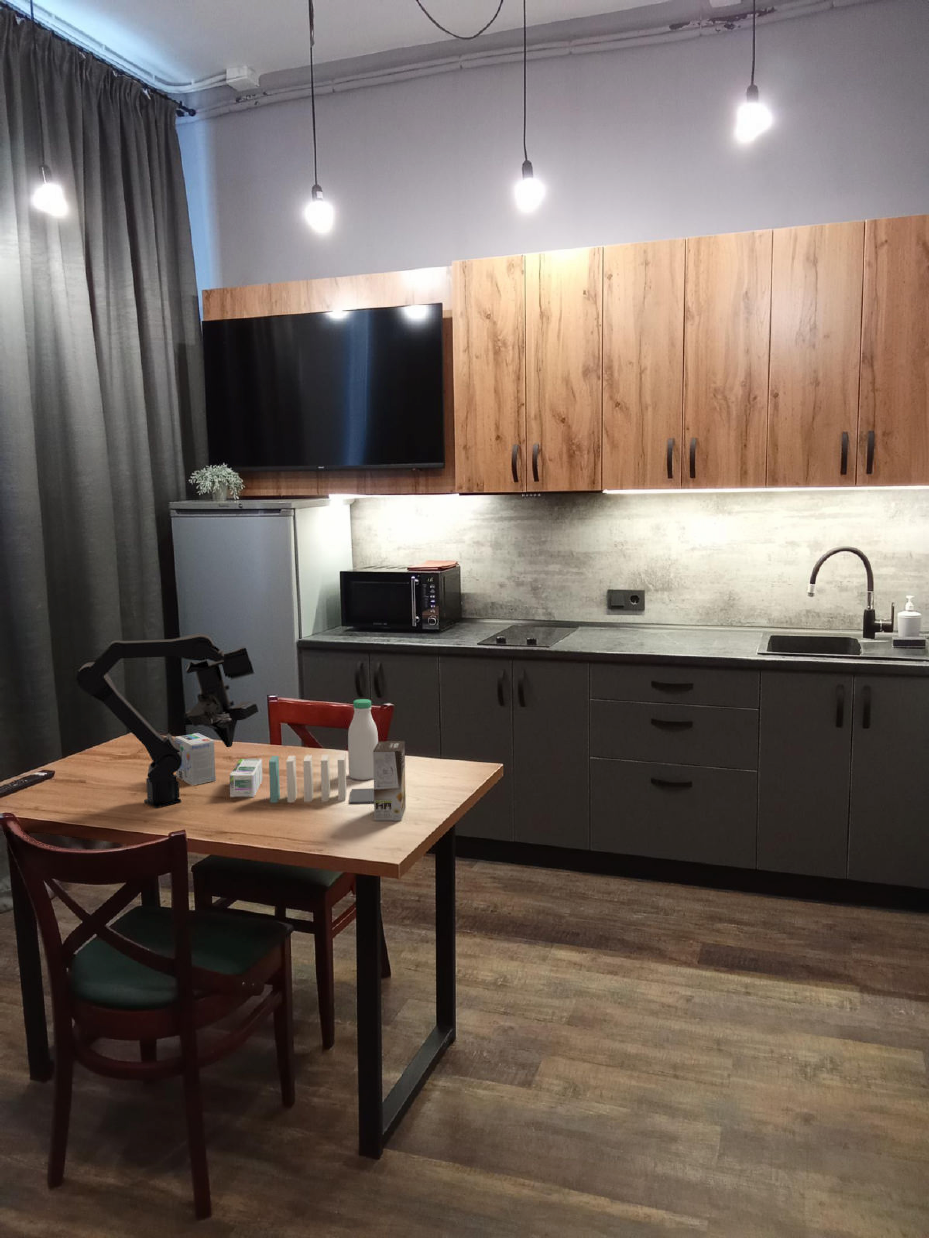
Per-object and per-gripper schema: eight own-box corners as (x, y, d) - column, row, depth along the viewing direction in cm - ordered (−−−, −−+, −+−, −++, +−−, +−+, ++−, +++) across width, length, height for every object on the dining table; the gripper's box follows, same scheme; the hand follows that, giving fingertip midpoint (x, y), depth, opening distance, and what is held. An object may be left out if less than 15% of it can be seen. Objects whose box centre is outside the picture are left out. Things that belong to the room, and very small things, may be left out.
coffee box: (402, 821, 212) (401, 751, 210) (373, 821, 212) (372, 751, 210) (406, 807, 221) (405, 740, 219) (378, 807, 221) (377, 740, 219)
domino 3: (304, 801, 226) (303, 760, 224) (306, 795, 231) (305, 755, 229) (311, 801, 226) (310, 760, 224) (313, 795, 231) (312, 755, 229)
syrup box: (262, 758, 243) (253, 773, 228) (262, 780, 243) (253, 797, 229) (239, 758, 242) (228, 774, 228) (240, 781, 243) (229, 798, 229)
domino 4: (321, 801, 226) (320, 760, 225) (323, 794, 231) (322, 754, 229) (328, 801, 226) (327, 760, 225) (330, 794, 231) (329, 754, 230)
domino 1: (270, 802, 225) (269, 761, 224) (273, 796, 230) (271, 756, 229) (277, 802, 225) (275, 761, 224) (279, 795, 230) (278, 755, 229)
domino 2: (287, 802, 225) (286, 761, 224) (290, 795, 230) (288, 755, 229) (294, 802, 225) (293, 761, 224) (296, 795, 230) (295, 755, 229)
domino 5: (338, 800, 226) (337, 760, 225) (339, 794, 231) (338, 754, 230) (345, 800, 226) (344, 759, 225) (346, 794, 231) (345, 754, 230)
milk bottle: (384, 777, 245) (382, 701, 242) (357, 782, 241) (355, 705, 238) (369, 770, 251) (368, 696, 249) (343, 775, 247) (341, 699, 244)
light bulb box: (175, 776, 247) (173, 736, 246) (200, 771, 251) (198, 732, 250) (191, 786, 239) (189, 744, 237) (217, 781, 243) (215, 740, 241)
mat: (349, 803, 224) (349, 801, 224) (351, 790, 234) (351, 788, 234) (392, 802, 224) (392, 800, 224) (392, 789, 234) (392, 787, 234)
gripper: (159, 700, 223) (178, 762, 226) (220, 693, 215) (239, 757, 217) (190, 684, 233) (208, 744, 235) (250, 677, 224) (267, 739, 227)
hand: (229, 746), depth 229 cm, fingers closed
